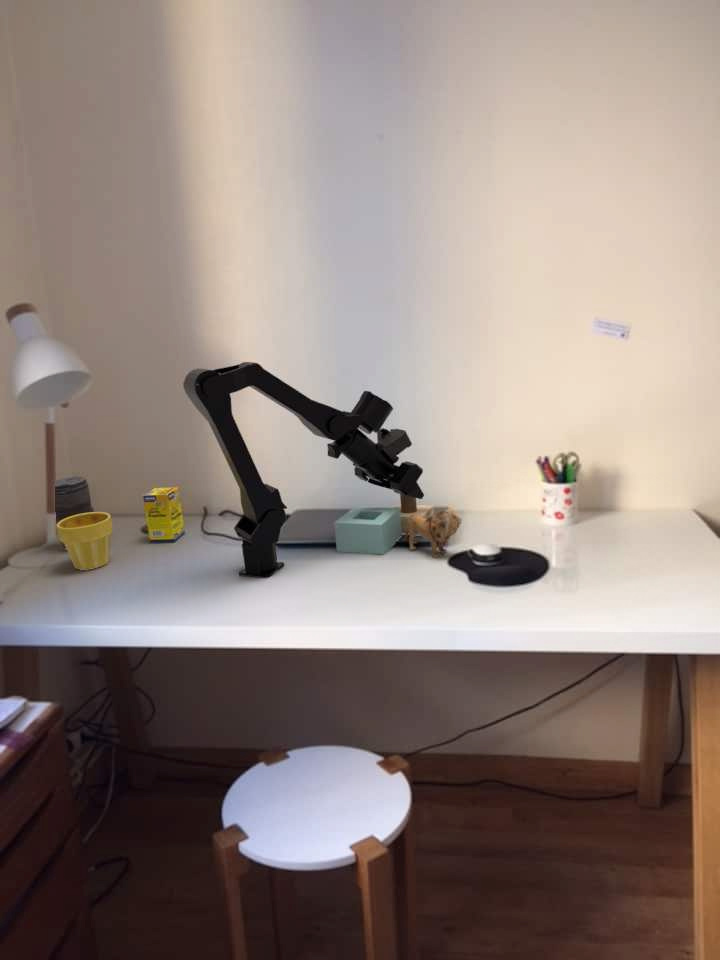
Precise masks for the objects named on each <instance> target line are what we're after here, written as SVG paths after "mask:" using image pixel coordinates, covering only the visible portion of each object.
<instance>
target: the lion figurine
mask: <svg viewBox="0 0 720 960" xmlns="http://www.w3.org/2000/svg"><path fill="white" fill-rule="evenodd" d="M461 524H462V518H461V517H458V516H457V514H456V513H455V511H454V510H453V509H451V508H448V509H443V510H441V511H439V512H437V513H436V514H435V513H434V515H432V516H431V517H430V518H429V519H425V518H423V517H422V516H421V515H419V514H412V515H411V516H410V517H409V519H408V525H407V531H406V534H405V536H404V535H403V536H402V538H401V539H400V540H399V541H398V542H399V543H403V542H405V541H406V540H407V537H408V533H409V538H408V544H409V550H410V551H415V550H416V549H417V547H416V546H414V544H417V543H418V542H417V541H418V540H417V539H416V537H417V536H416V535H417V534H420V535H421V536H420V537H422V538H424V539H428V540H429V542H430V546H431V554H432V557H433V558H434V559H435V558H436V559H437V558H439V557H440V554H439V553H441V554H445V553H447V548H446V549H445V548H444V544H445V542H447V541H448V540H450V538H451V537H452V536H454V535H456V533H457V531H458V529H459V528H460V525H461ZM437 544H438V545H437ZM437 546H438V547H437Z"/></svg>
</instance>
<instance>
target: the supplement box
mask: <svg viewBox="0 0 720 960" xmlns="http://www.w3.org/2000/svg"><path fill="white" fill-rule="evenodd" d="M180 499H181V498H180V492H179V487H155V488H153V489H152V490H151V491H149V492H147V493H144V494H143V495H142V501H143V507H144V513H145V519H146V525H147V531H148V539H149V542H150V543H151V544H155V543H157V544H158V543H159V544H160V543H163V544H165V543H175V542H176V541H178V539H180V538H181V537H182V536H184V535H185V534H186V531H185V526H184V518H183V512H182V505H181V500H180Z"/></svg>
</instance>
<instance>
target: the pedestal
mask: <svg viewBox="0 0 720 960" xmlns="http://www.w3.org/2000/svg"><path fill="white" fill-rule="evenodd" d="M416 505H417V504H416ZM392 509H400V515H401V528H402V533H406V531H407V525H408V519H409V517H410V516H411V515H412V514H419V515H421V516H422V517H423V518H425V519H429V518H430V517H431V516H432V515H435V507H434V505H422V504H421V505H417V511H416V512H414V513H403V512H402V511H401V504H397V505H395V506H394V507H392Z"/></svg>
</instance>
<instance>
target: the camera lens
mask: <svg viewBox="0 0 720 960" xmlns="http://www.w3.org/2000/svg"><path fill="white" fill-rule="evenodd" d="M54 481H55V512H56V519H55V523H56V525H57V523H58V522H60V521H61V520H63V519H65V518H68V517H70V516H74V515H78V514H83V513H89V512H95V511H94V507H93V506H92V503H91V502H92V499H91V494H90V493H91V492H90V488H89V483H88V482H87V480H86V477H84V476H72V477H71V476H70V477H65V478H61V479H57V480H54ZM60 543H62V545H63V548H66V547H65V545H64V543H63V542H61V541H60Z"/></svg>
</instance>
